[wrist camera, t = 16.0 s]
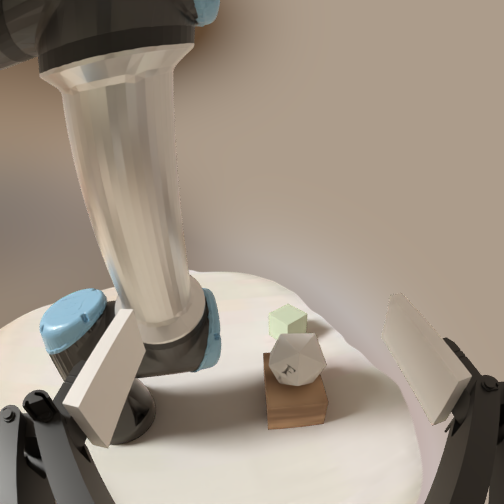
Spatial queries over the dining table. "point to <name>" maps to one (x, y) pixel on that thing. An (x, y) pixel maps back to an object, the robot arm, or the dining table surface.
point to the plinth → (293, 401)
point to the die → (297, 359)
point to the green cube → (287, 321)
